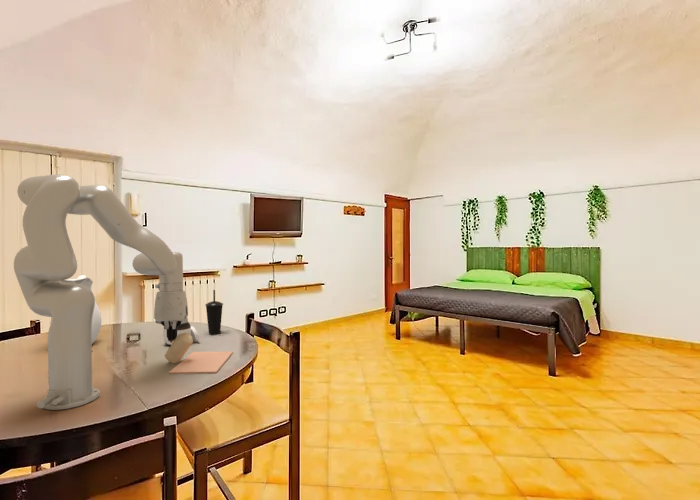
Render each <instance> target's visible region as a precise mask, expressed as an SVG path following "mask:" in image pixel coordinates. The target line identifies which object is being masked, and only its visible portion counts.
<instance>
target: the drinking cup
mask: <svg viewBox="0 0 700 500" xmlns="http://www.w3.org/2000/svg"><path fill="white" fill-rule="evenodd" d="M212 292H213V293H212V295H213V298H212V300H213V301H209V302H207V303H205V308H206V319H207V329H208V334H209V335H211V336H215V335H220V334H221V327H222V315H223V305H224V303H223V302H221V301H217V300H216V290H215V289H213V291H212Z"/></svg>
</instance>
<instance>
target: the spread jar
mask: <svg viewBox="0 0 700 500" xmlns="http://www.w3.org/2000/svg"><path fill="white" fill-rule="evenodd" d="M171 325H173V321H171ZM181 333H188V334H190V335H192V339H193V343H197V342H198V341H200V335H199V332H198V331H197V329H196V328H195V327H194V326H193V325H191V324H190V321H188V322H187V323H183V324H180V325H179V326H178V327H177V336H178V335H179V334H181ZM176 338H177V337H176ZM163 341H164V344H165V345H167V346H168V347H170V346H171V345H172V344H173V342H174V341H175V340H173V341H171V340H170V341H168V338H167V329H165V327H164V326H163Z"/></svg>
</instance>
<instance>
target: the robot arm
mask: <svg viewBox="0 0 700 500" xmlns="http://www.w3.org/2000/svg"><path fill="white" fill-rule="evenodd" d="M16 192H17V193H16V194H17V196H18V198H19V200H20V201H21V202H22V203H23V204H25V206H26V207H25V210H24V212H23V215H22V229H23V233H24V237H25V241H26V244H27V245H26V246H24V247H22V248H21V249H20V250H18V251H17V253H16V254H15V256H14V259H13V271H14V274H15V278H16V280H17V282H18V284H19V287H20V290H21V291H22V295H23V297H24V299H25V303H26V304H27V306H28V307H29V310H31V311H32V312H33V313H34V314H36V315H39V316H42V317H48V318H51V317H53V318H52V322H51V321H50V322H51V325H49V329H48V333H47V358H48V359H47V365H48V367H47V369H48V390H46V396H45V397H44V398H42V399H40V400H39V401H37V402H36V407H37V408H38V409H45V410H50V411H56V410H58V411H59V410H66V409H73V408H76V407H80V406H83V405H86V404H89V403H90V402H92V401H95V400H96V399H97V398H99V396H100V389H98V388H97V387H94V386H93V352H92V351H93V345H92V336H91V329H92V317H93V312H94V307H95V301H96V298H95V294H94V293H93V291H92V289H91V290H90V289H89V288H87V287H86V286H83V285H81V284H76V283H65V282H63V283H62V282H61V280H69V279H71V278H73V276H74V275H75V274H76V273H77V270H78V260H77V258H76V254H75V251H74V249H73V246H72V243H71V239H70V237H69V233H68V230H67V223H66V220H67V216H68V214H69V215H75V216H76V215H77V216H89V215H90V216H91V217H92V218H93V219H94V220H95V221H96V222H97V224H99V226H100V227H101V228H102V229H103V230H104V231H105V233H106V234H107V235H108V237H109V238H110V239H112V240H113V241H114V242H117V243H118V244H121V245H123V246H126V247H129V248H132V249H134V250H136V251H137V252H140V253H139V254H137V255H136V256H134V258H133V260H132V267H133V270H134V271H135V272H137V273H138V274H140V275H145V276H158V283H156V284H155V285H154V287H155V289H158V291H156V294H155V299H154V309H153V311H154V312H153V318H154V321H155V323H156V324H158V325H161V326H163V328H164V327H165V329H167V338H168V341H170V340H171V341H173V340H175V339H176V337H177V327H178V326H179V325H180V324H183V323H187V322H189V318H188V316H189V308H188V307H189V306H188V300H187V299H188V298H187V294H186V291H185V290H184V271H183V270H184V268H183V267H184V264H183V263H184V261H183V259H184V258H183V254H182V252H180V251H172V250H171V248H170V247H169V246H168V245H167V244H166V242H165V241H164V240H163V239H162V238H160V237H159V236H157V235H156V234H155V233H153V232H152V231H151V230H149V229H147V228H146V227H145V226H143V225H141V224H140V223H139V222H138V221H137V220H136V219H135V217H134V216H133V215H132V214H131V212H130V211H129V210H128V209H127V207H126V206H125V205H124V203H123V202H122V201H121V200H120V198H119V197H118V196H117V195H116V193H115V192H114V191H113V190H112V189H111V188H109V187H108V186H105V185H102V184H91V185H79V183H78V181H77V180H76V179H75V178H73V177H71V176H68V175H65V174H49V175H40V176H30V177H27V178H25V179H23V180H22V181H21V182H19V185H18V186H17V191H16ZM171 321H173V325H171Z"/></svg>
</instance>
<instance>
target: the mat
mask: <svg viewBox="0 0 700 500" xmlns="http://www.w3.org/2000/svg"><path fill="white" fill-rule="evenodd" d="M233 354H234V351H233V350H232V351H230V350H229V351H225V350H223V351H192V352H191V353H189V355H188V356H186V357H184V359H183V360H182V361H179V362H178V363H177V365H176V366H174V367H173V368H172V369H171V370H170V371H168V375H186V374H187V375H190V374H191V375H192V374H194V375H195V374H199V375H200V374H201V375H202V374H205V375H206V374H217V373H218V372H219V371H220V370H221V368H222V367H223V366H224V365H225V364H226V362H227V361H228V360H229V359H230V358H231V357H232V355H233Z"/></svg>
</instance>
